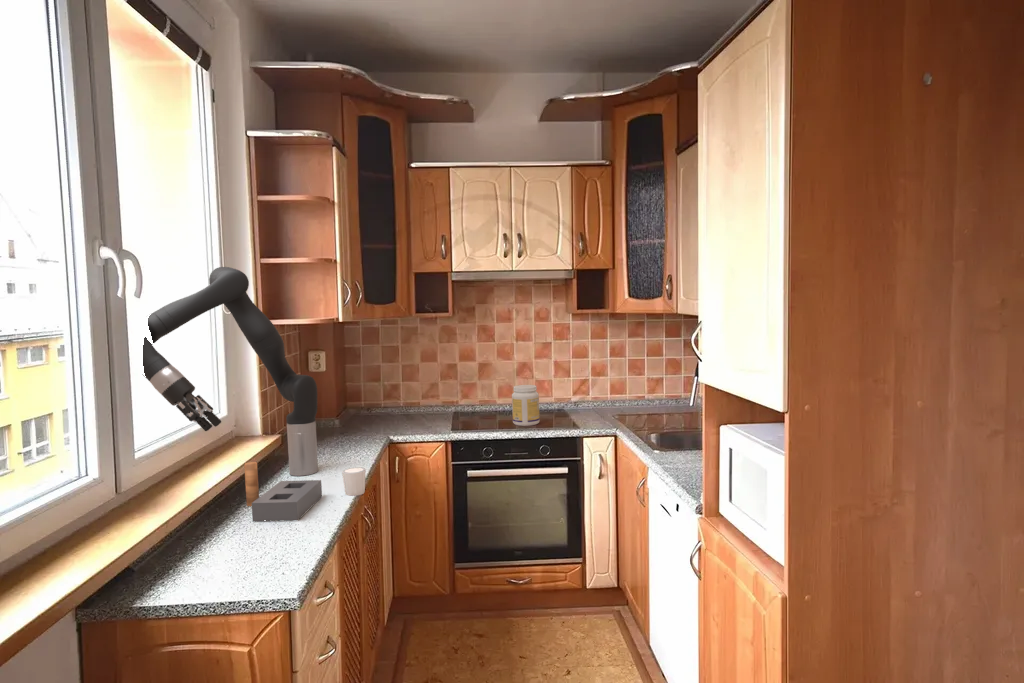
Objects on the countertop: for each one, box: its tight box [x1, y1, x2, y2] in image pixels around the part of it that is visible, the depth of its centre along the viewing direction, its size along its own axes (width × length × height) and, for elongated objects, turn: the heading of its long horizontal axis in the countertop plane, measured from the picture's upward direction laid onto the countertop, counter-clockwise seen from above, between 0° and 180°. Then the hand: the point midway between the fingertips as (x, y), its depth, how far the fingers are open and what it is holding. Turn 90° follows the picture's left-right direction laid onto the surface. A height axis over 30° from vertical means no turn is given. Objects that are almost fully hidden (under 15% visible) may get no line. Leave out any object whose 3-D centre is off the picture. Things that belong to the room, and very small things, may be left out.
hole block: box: [251, 479, 323, 522], centre depth 178 cm, size 20×12×5 cm, turn 179°
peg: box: [243, 461, 260, 508], centre depth 182 cm, size 3×3×12 cm
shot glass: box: [341, 466, 367, 497], centre depth 190 cm, size 7×7×7 cm
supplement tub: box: [511, 384, 540, 427], centre depth 285 cm, size 12×12×17 cm
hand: (214, 426), depth 180 cm, fingers open, 8 cm apart
